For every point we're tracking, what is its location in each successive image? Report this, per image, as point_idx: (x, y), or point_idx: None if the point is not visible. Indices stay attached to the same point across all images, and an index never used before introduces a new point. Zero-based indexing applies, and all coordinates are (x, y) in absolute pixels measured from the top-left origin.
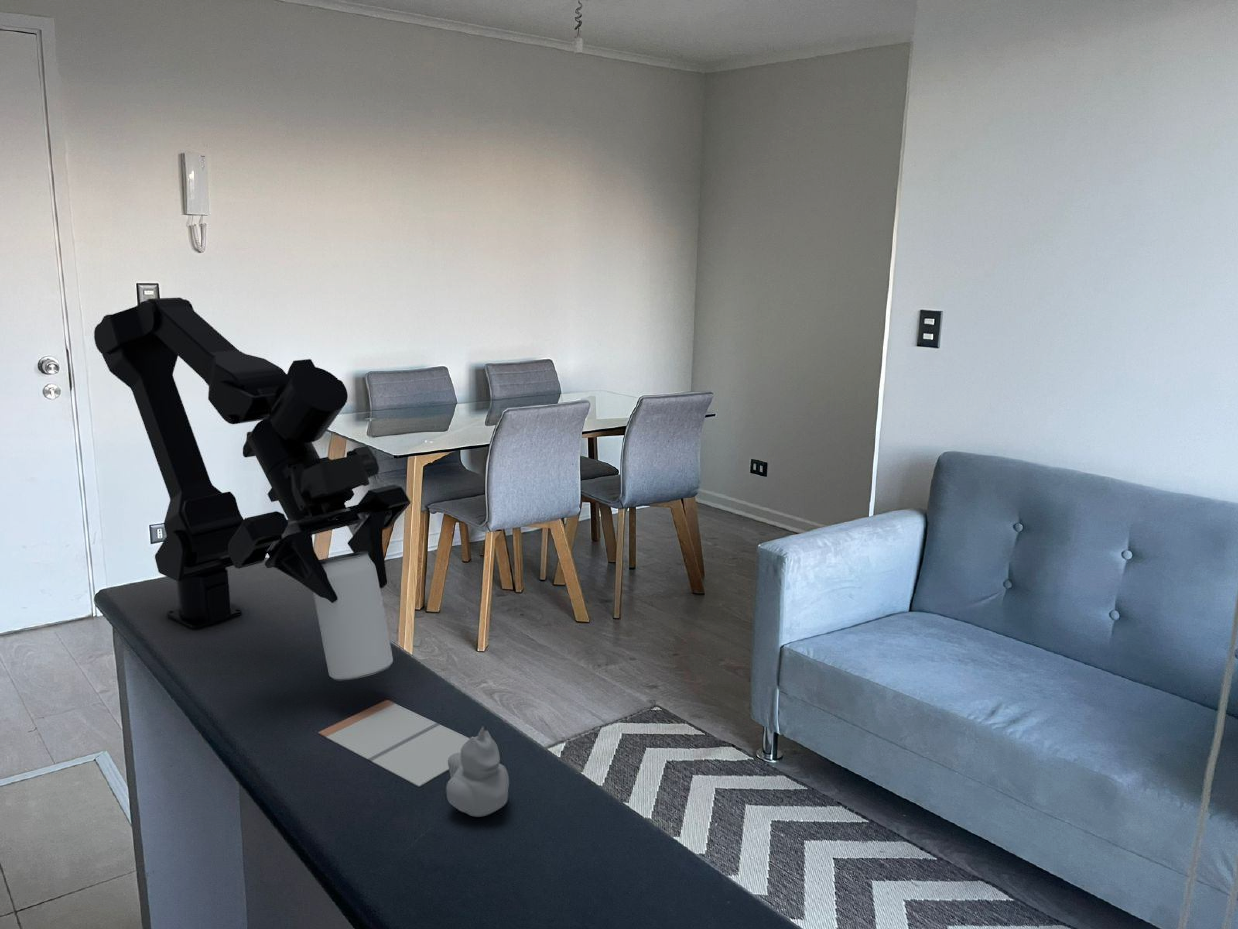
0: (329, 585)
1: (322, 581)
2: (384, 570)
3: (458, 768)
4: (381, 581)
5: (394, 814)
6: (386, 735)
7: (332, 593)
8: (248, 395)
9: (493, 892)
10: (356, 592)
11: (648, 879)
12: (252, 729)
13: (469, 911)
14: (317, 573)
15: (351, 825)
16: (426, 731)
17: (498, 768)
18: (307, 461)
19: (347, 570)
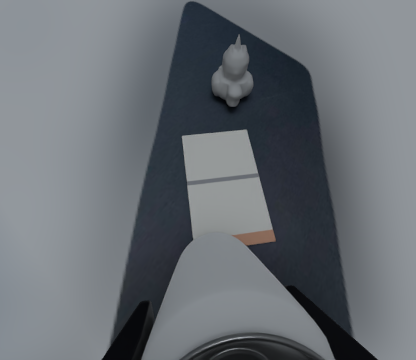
0: (312, 315)
1: (340, 327)
2: (124, 332)
3: (241, 83)
4: (149, 313)
5: (272, 119)
6: (230, 196)
7: (301, 294)
8: None
9: (262, 53)
10: (246, 267)
11: (203, 25)
12: (325, 295)
13: (277, 52)
14: (371, 357)
15: (298, 126)
16: (202, 179)
17: (222, 67)
18: None
19: (276, 305)
